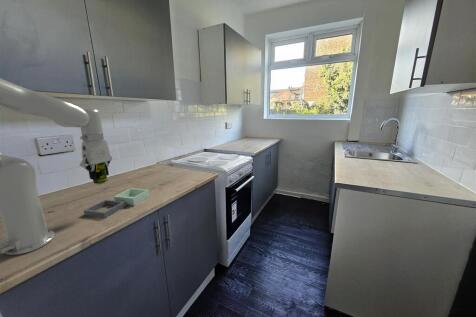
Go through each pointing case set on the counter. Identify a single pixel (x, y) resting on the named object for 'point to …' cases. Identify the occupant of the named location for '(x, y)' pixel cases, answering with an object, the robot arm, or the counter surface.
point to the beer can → (100, 174)
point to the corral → (117, 206)
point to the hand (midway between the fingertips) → (99, 176)
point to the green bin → (132, 196)
